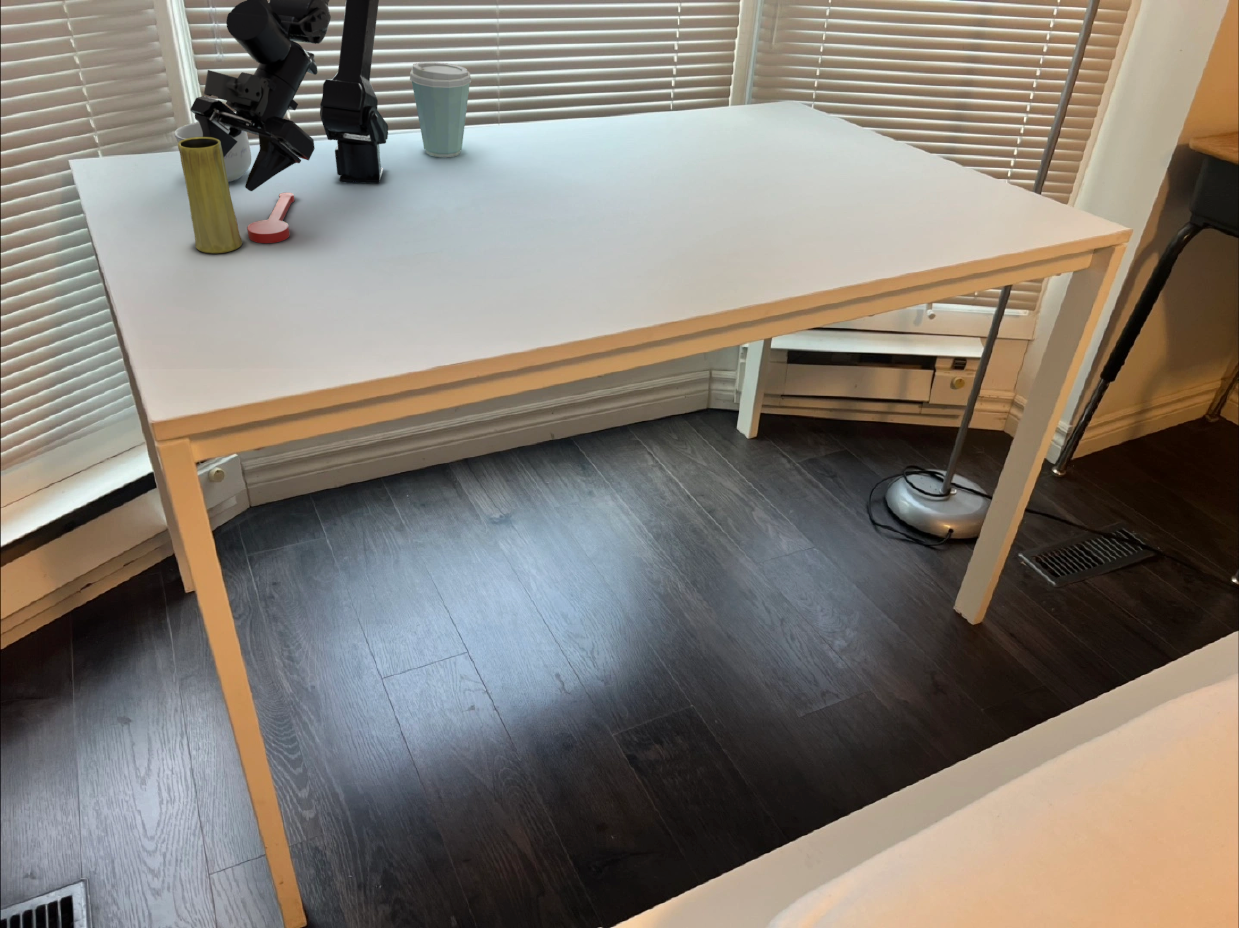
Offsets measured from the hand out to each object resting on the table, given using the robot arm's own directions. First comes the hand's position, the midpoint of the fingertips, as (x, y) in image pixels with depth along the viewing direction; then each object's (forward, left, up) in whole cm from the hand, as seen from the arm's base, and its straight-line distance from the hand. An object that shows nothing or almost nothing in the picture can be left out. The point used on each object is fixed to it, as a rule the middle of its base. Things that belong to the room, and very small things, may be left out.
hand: (225, 181), depth 130 cm
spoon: (-4, -8, -8) cm, 12 cm away
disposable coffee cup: (-27, -42, -9) cm, 51 cm away
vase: (+2, +2, -9) cm, 9 cm away
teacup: (+8, -28, -9) cm, 30 cm away
